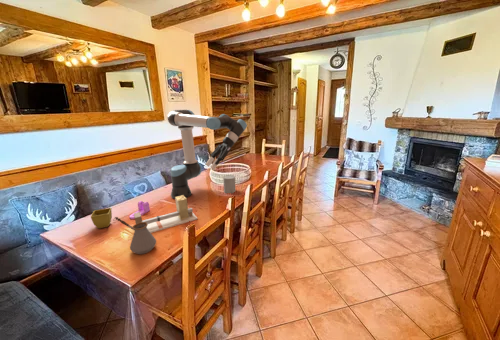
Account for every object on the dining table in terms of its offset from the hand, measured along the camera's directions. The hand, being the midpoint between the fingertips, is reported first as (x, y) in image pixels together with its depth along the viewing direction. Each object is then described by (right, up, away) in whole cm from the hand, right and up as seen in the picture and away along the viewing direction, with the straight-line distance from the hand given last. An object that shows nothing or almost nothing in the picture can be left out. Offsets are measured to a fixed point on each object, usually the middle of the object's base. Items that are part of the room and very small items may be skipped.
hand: (209, 166), depth 141 cm
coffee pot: (-30, -40, -34) cm, 61 cm away
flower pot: (-59, -35, -13) cm, 70 cm away
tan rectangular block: (-15, -30, -8) cm, 35 cm away
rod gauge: (-23, -34, -12) cm, 43 cm away
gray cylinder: (+10, -20, +35) cm, 42 cm away
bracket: (-46, -31, 0) cm, 55 cm away
